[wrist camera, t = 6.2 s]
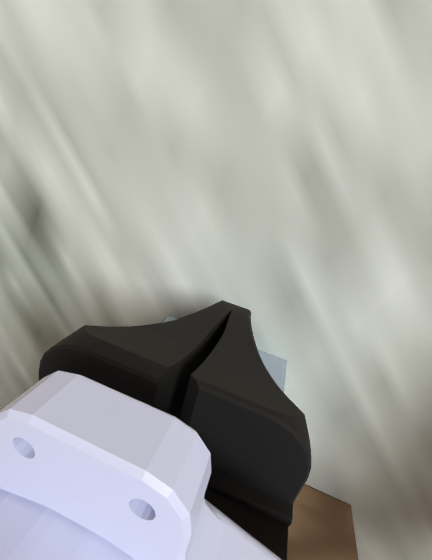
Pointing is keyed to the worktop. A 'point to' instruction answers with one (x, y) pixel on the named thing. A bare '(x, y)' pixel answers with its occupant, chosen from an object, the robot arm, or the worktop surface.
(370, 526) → the worktop surface
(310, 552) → the walnut board
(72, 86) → the worktop surface
